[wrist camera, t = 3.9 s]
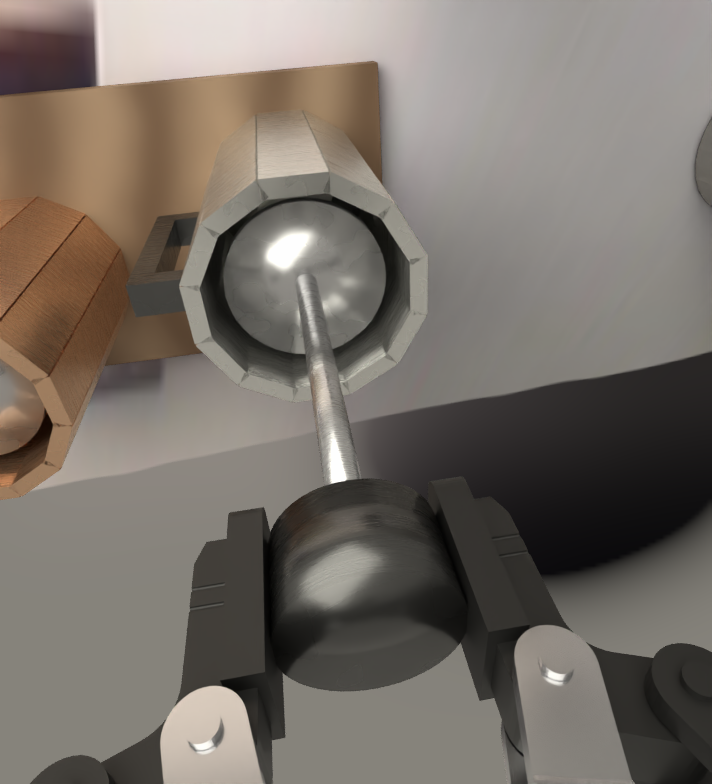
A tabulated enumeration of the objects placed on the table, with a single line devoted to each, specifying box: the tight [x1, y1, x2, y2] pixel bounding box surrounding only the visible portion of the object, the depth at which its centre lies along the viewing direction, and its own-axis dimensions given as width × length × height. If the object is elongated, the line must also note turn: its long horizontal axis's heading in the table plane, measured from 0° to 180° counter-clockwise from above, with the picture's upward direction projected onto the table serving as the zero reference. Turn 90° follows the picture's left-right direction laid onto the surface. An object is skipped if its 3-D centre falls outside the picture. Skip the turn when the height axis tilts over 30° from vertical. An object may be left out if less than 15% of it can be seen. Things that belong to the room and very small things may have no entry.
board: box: [0, 61, 382, 366], centre depth 33 cm, size 26×16×1 cm, turn 94°
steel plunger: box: [224, 197, 468, 691], centre depth 16 cm, size 7×7×16 cm
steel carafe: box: [126, 110, 428, 403], centre depth 27 cm, size 12×9×14 cm
